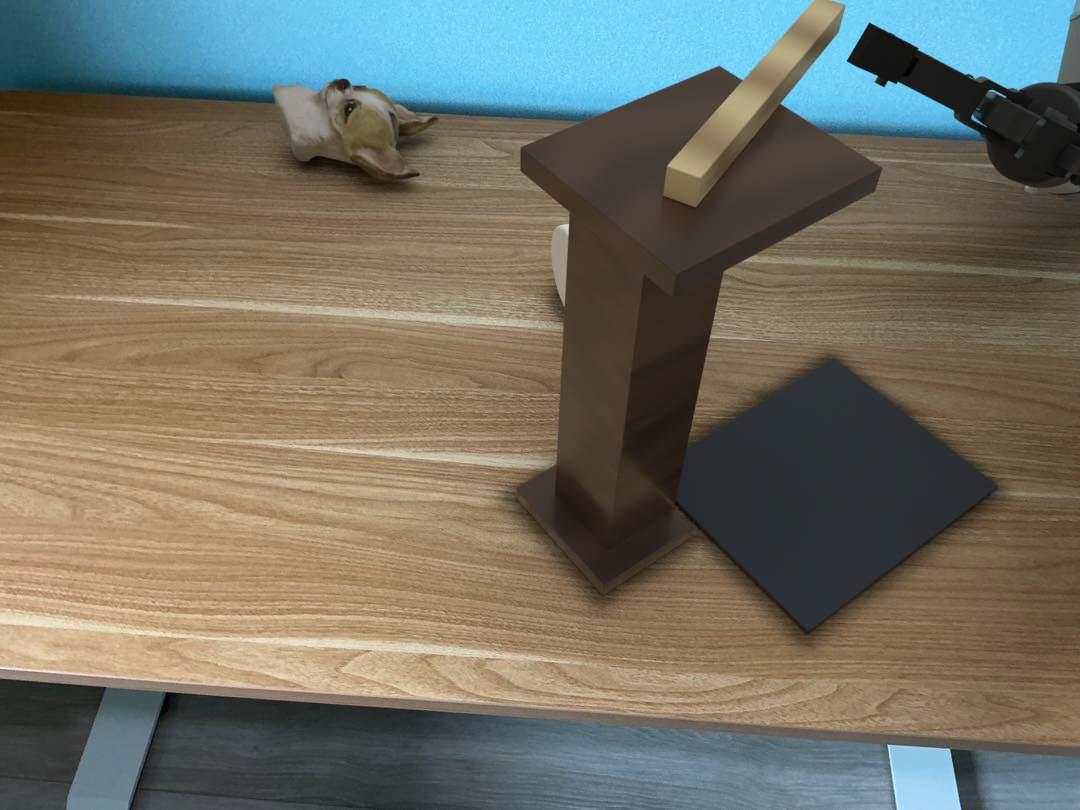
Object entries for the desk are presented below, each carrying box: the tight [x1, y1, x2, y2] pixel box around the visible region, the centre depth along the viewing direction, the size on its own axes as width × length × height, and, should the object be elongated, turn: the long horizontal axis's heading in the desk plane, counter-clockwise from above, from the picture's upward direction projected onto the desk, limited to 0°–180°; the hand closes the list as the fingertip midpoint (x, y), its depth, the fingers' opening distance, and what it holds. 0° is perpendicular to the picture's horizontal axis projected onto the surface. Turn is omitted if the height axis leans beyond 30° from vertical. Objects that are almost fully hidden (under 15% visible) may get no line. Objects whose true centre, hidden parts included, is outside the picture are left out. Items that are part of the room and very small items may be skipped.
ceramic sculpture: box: [271, 78, 440, 181], centre depth 95 cm, size 11×9×15 cm
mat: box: [675, 357, 999, 635], centre depth 73 cm, size 16×20×1 cm
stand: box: [514, 65, 883, 597], centre depth 61 cm, size 12×15×28 cm
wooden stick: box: [663, 0, 846, 207], centre depth 53 cm, size 20×2×2 cm, turn 149°
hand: (945, 90), depth 62 cm, fingers open, 13 cm apart
